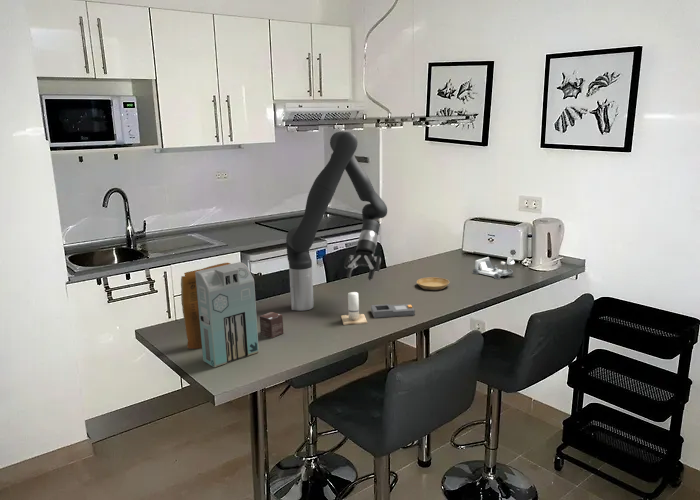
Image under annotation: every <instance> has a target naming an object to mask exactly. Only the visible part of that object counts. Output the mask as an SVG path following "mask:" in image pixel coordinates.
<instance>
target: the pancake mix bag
mask: <svg viewBox="0 0 700 500" xmlns="http://www.w3.org/2000/svg"><path fill="white" fill-rule="evenodd" d="M228 264H232V263H230V262H223V263H218V264H214V265H211V266H207V267H204V268H199V269H195V270H192V271H186V272H184V275H183V276H182V275H181V278H180V288H181V289H180V292H181V293H180V294H181V295H180V299H181V307H182V309H181V310H182V315H183V320H184V327H185V328H184V329H185V334H186V338H187V347H186V348H187V349H189V350H197V349H198V350H199V349H202V341H201V330H200V319H199V308H198V297H197V286H196V275H195V272H196V271H200V270H205V269H210V268H214V267H219V266H224V265H228Z"/></svg>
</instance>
